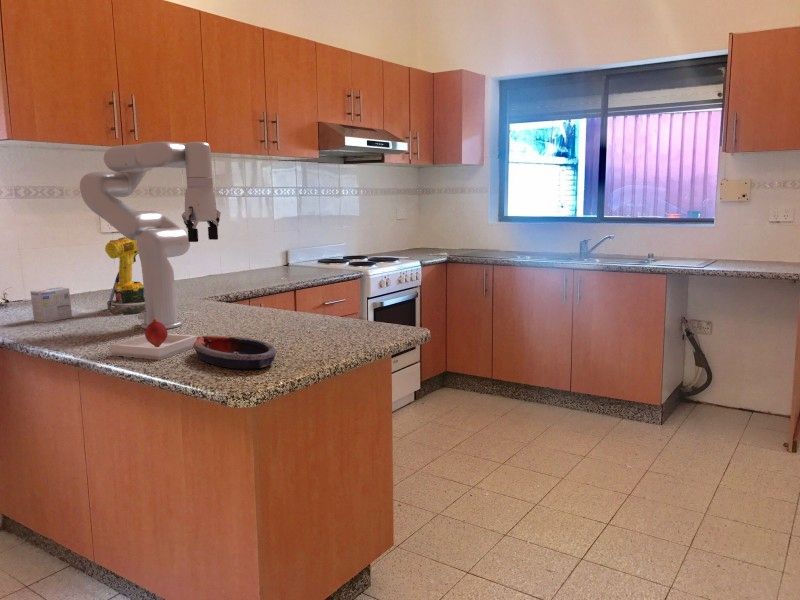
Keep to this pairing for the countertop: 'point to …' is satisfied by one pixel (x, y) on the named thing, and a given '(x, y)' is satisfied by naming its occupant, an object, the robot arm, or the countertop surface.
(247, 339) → the dish
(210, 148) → the robot arm
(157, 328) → the onion
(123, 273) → the cordless drill
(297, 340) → the countertop surface
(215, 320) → the countertop surface
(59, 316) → the light bulb box
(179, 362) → the countertop surface
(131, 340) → the tray
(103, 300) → the countertop surface
